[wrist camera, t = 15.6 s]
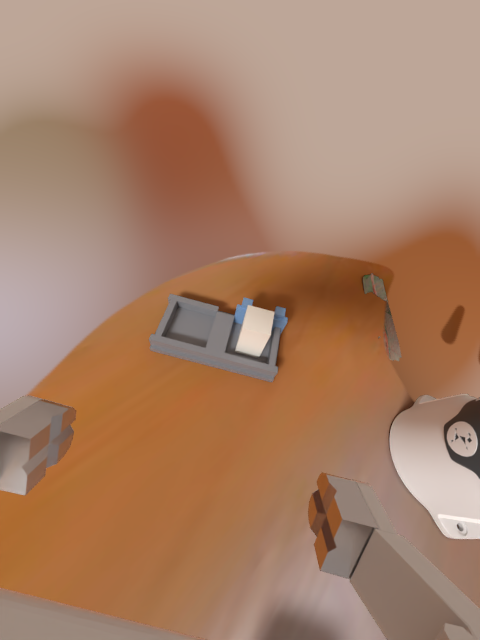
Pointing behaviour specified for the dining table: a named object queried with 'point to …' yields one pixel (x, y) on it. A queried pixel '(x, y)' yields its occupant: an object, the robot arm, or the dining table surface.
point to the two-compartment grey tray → (214, 337)
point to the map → (390, 336)
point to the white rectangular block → (254, 331)
